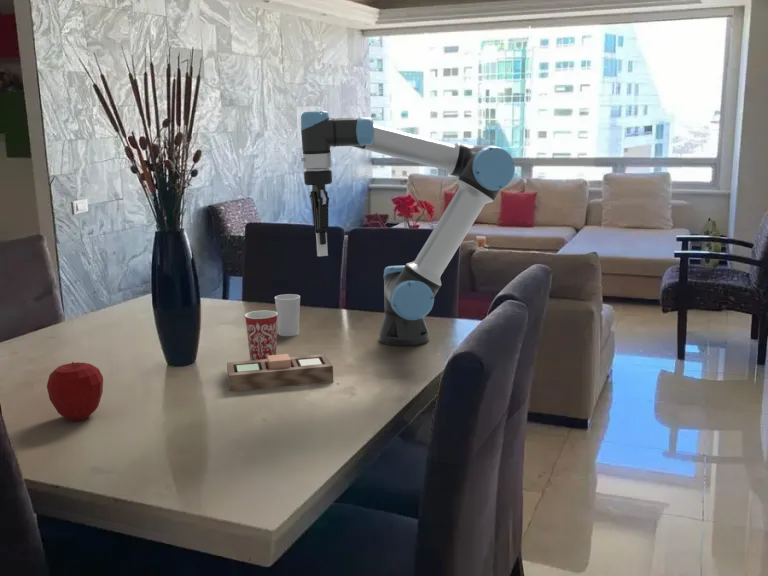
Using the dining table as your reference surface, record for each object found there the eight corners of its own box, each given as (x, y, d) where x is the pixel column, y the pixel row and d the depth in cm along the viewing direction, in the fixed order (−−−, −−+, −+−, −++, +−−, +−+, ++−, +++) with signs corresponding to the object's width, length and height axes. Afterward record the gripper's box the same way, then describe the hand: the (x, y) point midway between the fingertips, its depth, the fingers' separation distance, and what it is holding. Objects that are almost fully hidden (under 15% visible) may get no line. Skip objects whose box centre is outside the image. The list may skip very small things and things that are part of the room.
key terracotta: (288, 366, 196) (288, 353, 195) (291, 373, 190) (290, 359, 190) (268, 368, 194) (267, 355, 194) (270, 375, 189) (269, 361, 188)
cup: (297, 337, 233) (296, 299, 231) (273, 336, 234) (271, 299, 232) (304, 330, 241) (302, 294, 238) (280, 330, 242) (278, 293, 239)
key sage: (258, 376, 194) (257, 363, 193) (260, 383, 189) (259, 369, 188) (237, 378, 193) (236, 365, 192) (238, 385, 188) (237, 371, 187)
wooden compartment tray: (325, 368, 201) (325, 354, 200) (333, 381, 191) (332, 366, 190) (227, 378, 195) (226, 362, 194) (229, 391, 184) (228, 375, 184)
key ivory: (319, 371, 198) (318, 358, 197) (322, 377, 193) (322, 364, 192) (298, 373, 197) (298, 359, 196) (301, 379, 191) (301, 365, 191)
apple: (115, 417, 169) (110, 360, 166) (63, 431, 161) (57, 373, 158) (93, 404, 177) (87, 350, 175) (42, 417, 169) (36, 361, 167)
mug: (276, 365, 205) (274, 317, 202) (244, 365, 205) (241, 318, 203) (284, 352, 217) (282, 307, 215) (253, 352, 218) (251, 307, 215)
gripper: (299, 169, 207) (304, 253, 212) (308, 171, 195) (314, 260, 200) (325, 168, 209) (330, 251, 214) (336, 169, 197) (341, 257, 202)
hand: (322, 255), depth 207 cm, fingers closed
